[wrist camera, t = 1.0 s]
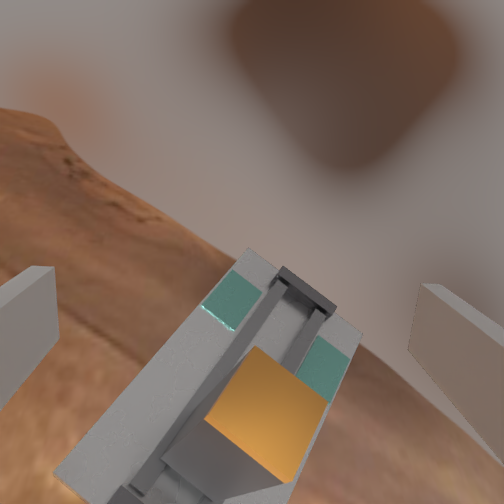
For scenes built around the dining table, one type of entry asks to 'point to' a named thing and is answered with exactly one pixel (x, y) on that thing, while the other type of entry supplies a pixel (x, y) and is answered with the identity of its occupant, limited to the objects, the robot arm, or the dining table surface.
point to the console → (210, 384)
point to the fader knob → (247, 430)
